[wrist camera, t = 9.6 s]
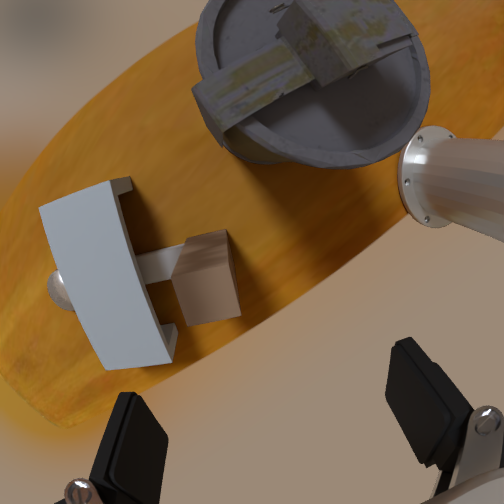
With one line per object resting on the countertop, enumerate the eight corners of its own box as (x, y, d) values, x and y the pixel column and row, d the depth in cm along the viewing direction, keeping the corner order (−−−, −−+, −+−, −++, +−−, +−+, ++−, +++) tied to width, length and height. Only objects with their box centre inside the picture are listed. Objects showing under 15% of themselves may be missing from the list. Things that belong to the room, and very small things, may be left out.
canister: (279, 48, 23) (364, -80, 4) (335, 131, 26) (498, 109, 7) (186, 101, 24) (117, -12, 5) (246, 187, 27) (306, 248, 8)
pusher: (225, 229, 28) (228, 264, 19) (234, 266, 29) (241, 315, 20) (83, 264, 28) (37, 305, 18) (95, 296, 29) (57, 345, 19)
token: (74, 258, 27) (67, 263, 26) (96, 295, 29) (90, 302, 27) (47, 274, 27) (40, 280, 26) (68, 308, 29) (62, 315, 27)
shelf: (129, 176, 25) (109, 180, 20) (178, 332, 31) (172, 362, 26) (66, 198, 25) (38, 207, 20) (118, 342, 31) (105, 370, 26)
